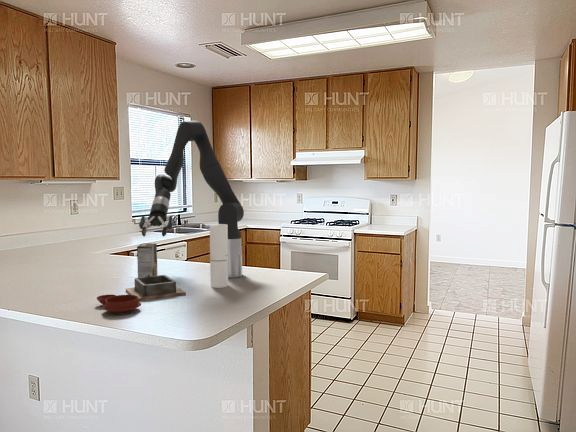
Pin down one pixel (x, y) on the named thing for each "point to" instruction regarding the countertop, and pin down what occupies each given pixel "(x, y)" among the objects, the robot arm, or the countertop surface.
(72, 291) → the countertop surface
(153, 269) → the coffee box
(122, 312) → the pottery
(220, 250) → the cylindrical container
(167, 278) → the docking cradle
